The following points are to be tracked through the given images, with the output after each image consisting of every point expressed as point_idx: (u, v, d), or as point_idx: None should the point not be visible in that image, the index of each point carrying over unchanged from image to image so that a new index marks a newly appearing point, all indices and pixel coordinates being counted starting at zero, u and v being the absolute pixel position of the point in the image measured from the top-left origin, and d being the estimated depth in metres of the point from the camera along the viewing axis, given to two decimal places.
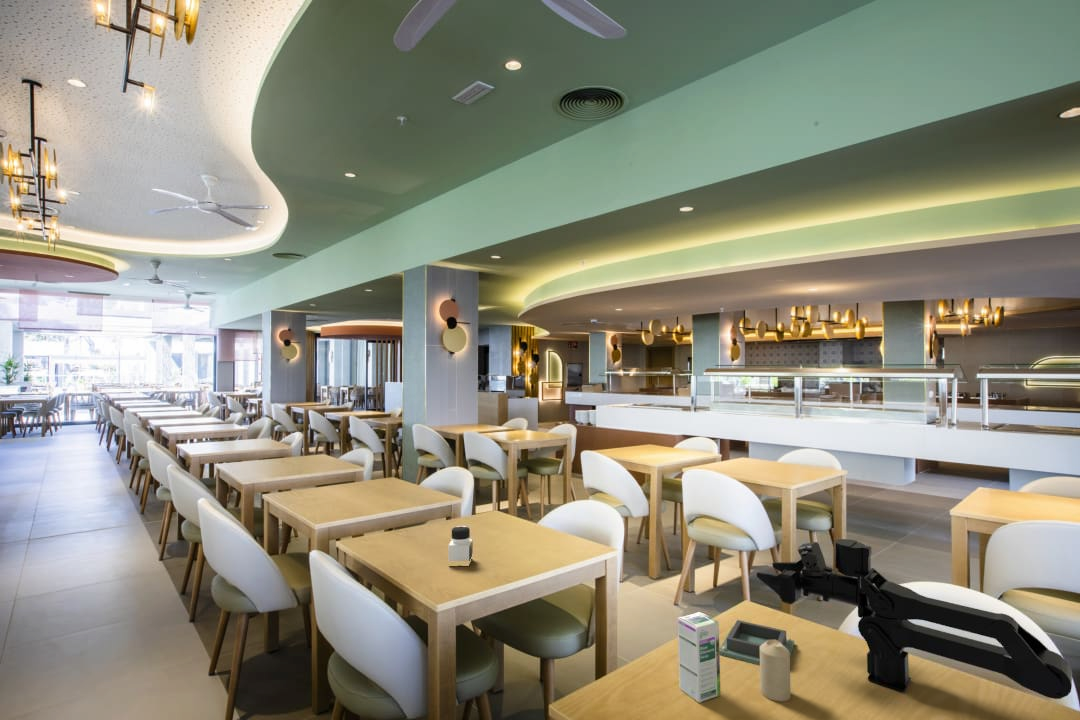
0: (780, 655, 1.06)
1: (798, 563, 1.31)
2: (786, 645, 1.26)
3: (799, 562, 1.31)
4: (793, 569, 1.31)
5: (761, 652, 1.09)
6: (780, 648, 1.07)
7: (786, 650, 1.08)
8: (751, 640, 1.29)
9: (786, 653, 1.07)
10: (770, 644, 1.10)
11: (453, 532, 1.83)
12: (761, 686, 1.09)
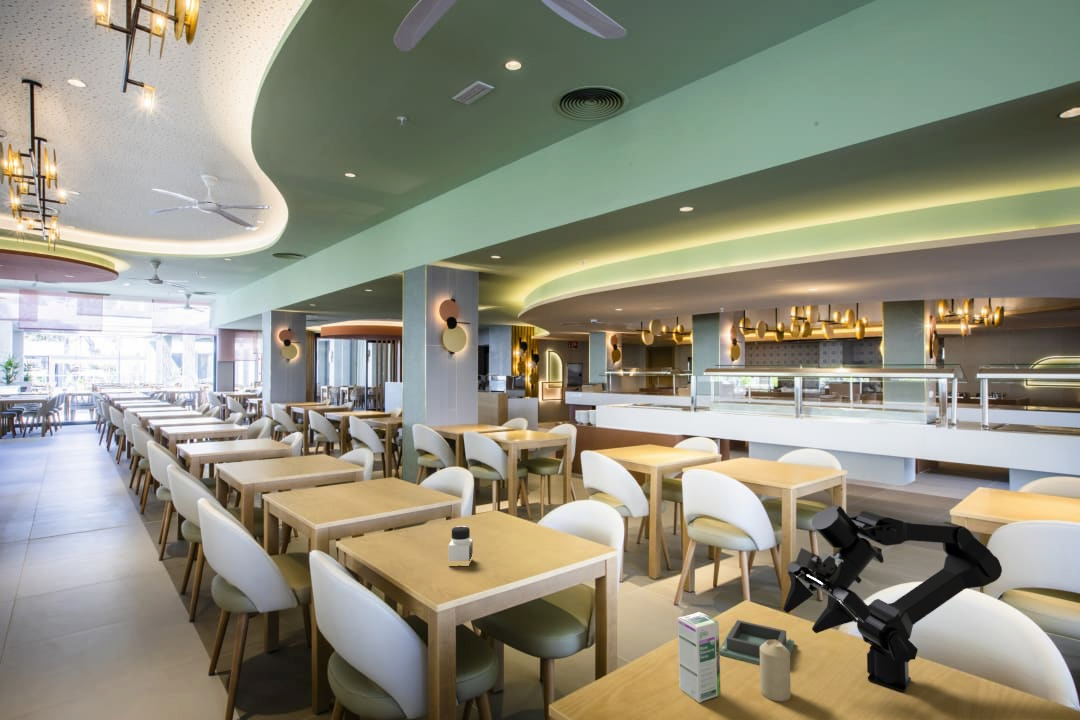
0: (780, 655, 1.06)
1: (797, 583, 1.16)
2: (786, 645, 1.26)
3: (796, 582, 1.16)
4: (799, 593, 1.16)
5: (761, 652, 1.09)
6: (780, 648, 1.07)
7: (786, 650, 1.08)
8: (751, 640, 1.29)
9: (786, 653, 1.07)
10: (770, 644, 1.10)
11: (453, 532, 1.83)
12: (761, 686, 1.09)
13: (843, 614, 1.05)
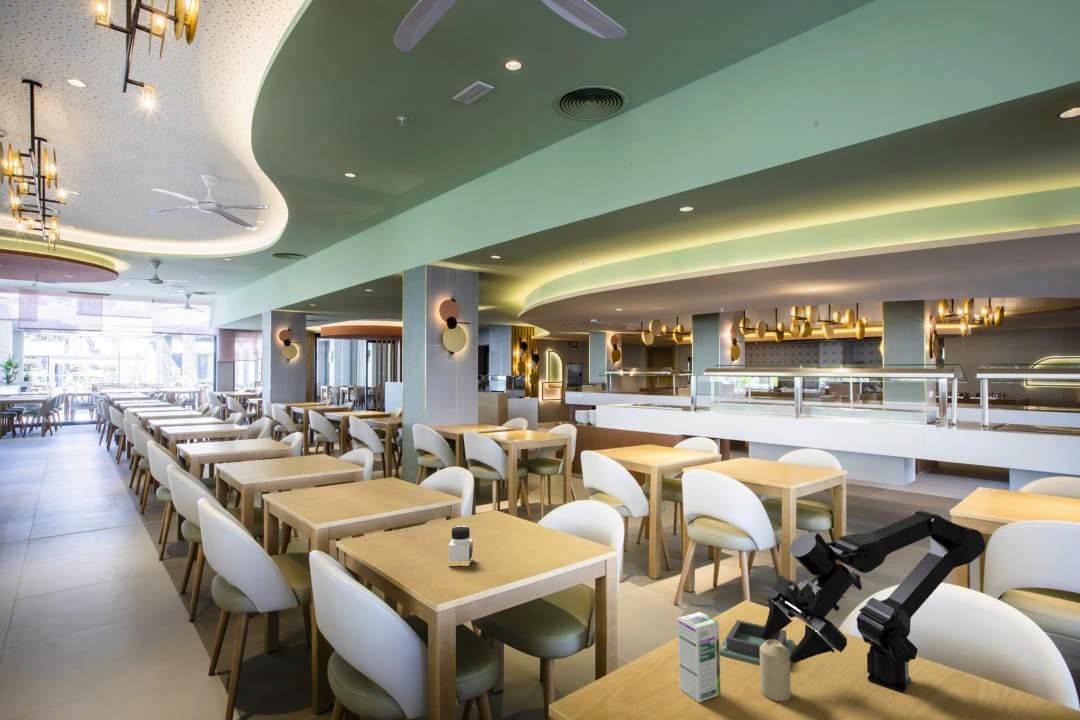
0: (780, 655, 1.06)
1: (775, 610, 1.15)
2: (786, 645, 1.26)
3: (775, 608, 1.15)
4: (777, 620, 1.14)
5: (761, 652, 1.09)
6: (780, 648, 1.07)
7: (786, 650, 1.08)
8: (751, 640, 1.29)
9: (786, 653, 1.07)
10: (770, 644, 1.10)
11: (453, 532, 1.83)
12: (761, 686, 1.09)
13: (820, 644, 1.04)
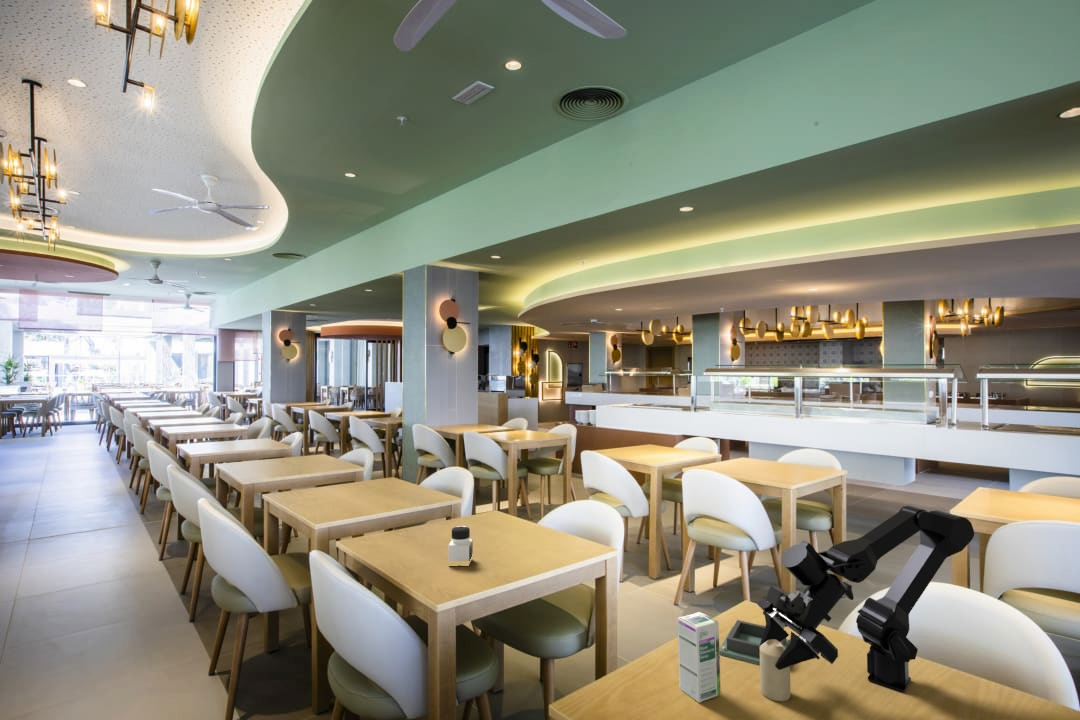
0: (780, 655, 1.06)
1: (772, 624, 1.13)
2: (786, 645, 1.26)
3: (771, 622, 1.13)
4: (774, 634, 1.12)
5: (761, 652, 1.09)
6: (780, 648, 1.07)
7: None
8: (751, 640, 1.29)
9: None
10: (770, 644, 1.10)
11: (453, 532, 1.83)
12: (761, 686, 1.09)
13: (806, 651, 1.05)
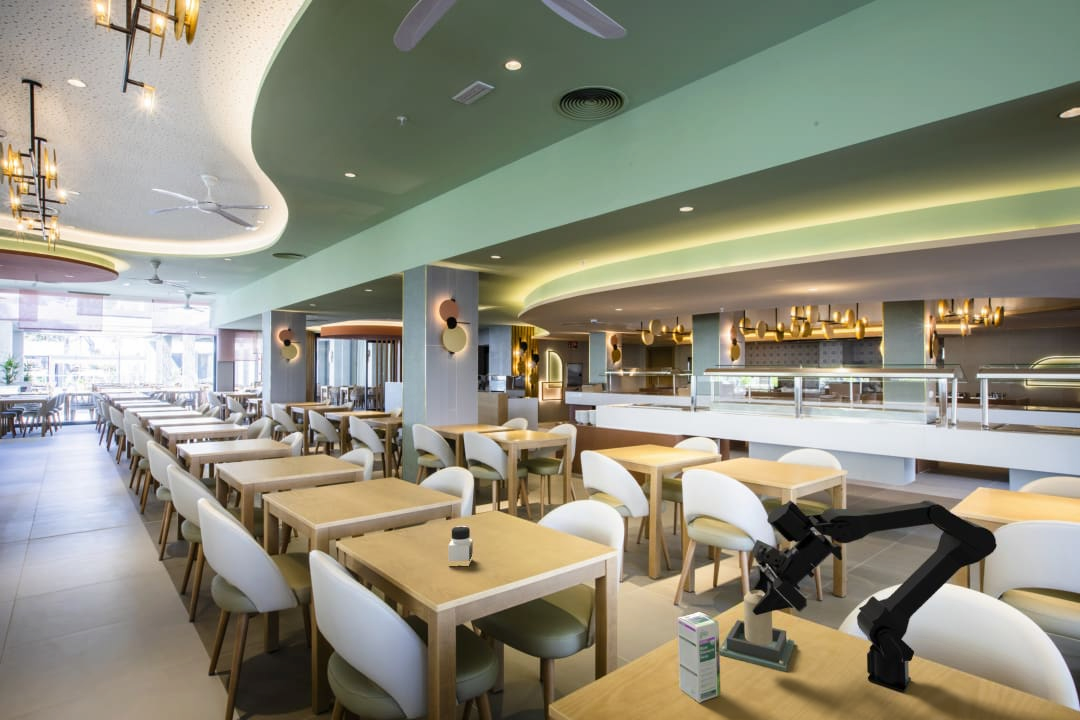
0: None
1: (761, 577, 1.21)
2: (786, 645, 1.26)
3: (761, 575, 1.21)
4: (763, 586, 1.20)
5: (744, 599, 1.18)
6: (760, 596, 1.16)
7: None
8: None
9: None
10: (754, 593, 1.18)
11: (453, 532, 1.83)
12: None
13: (781, 600, 1.13)
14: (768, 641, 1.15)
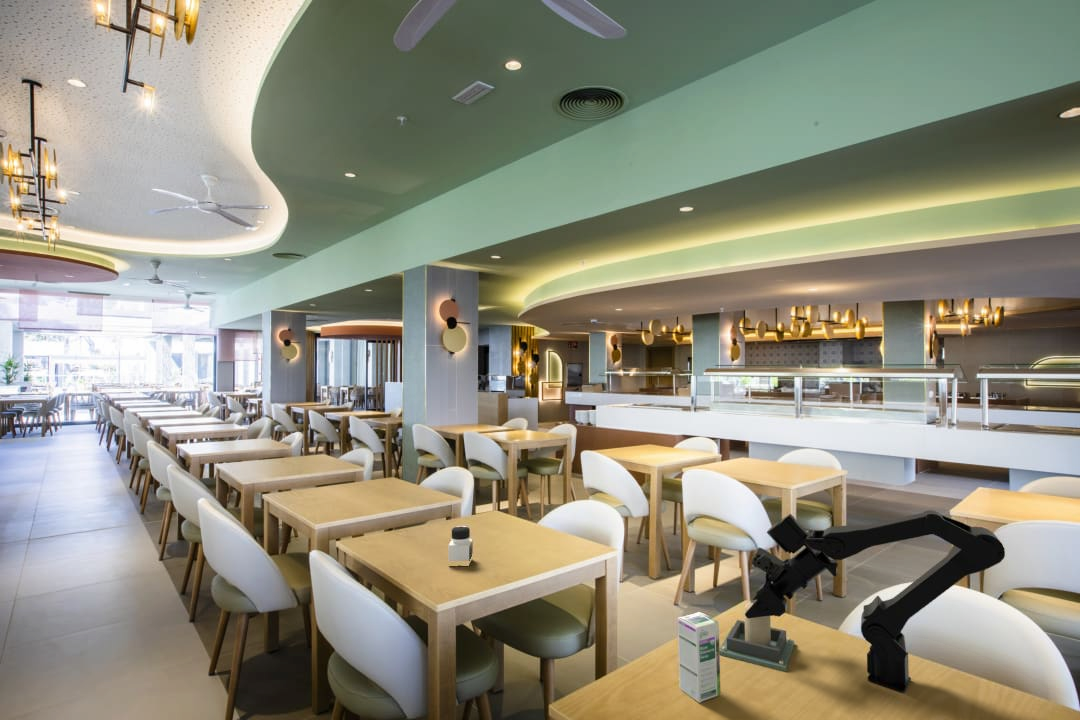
0: None
1: (767, 581, 1.30)
2: (786, 645, 1.26)
3: (767, 579, 1.30)
4: None
5: None
6: None
7: None
8: None
9: None
10: None
11: (453, 532, 1.83)
12: None
13: None
14: None
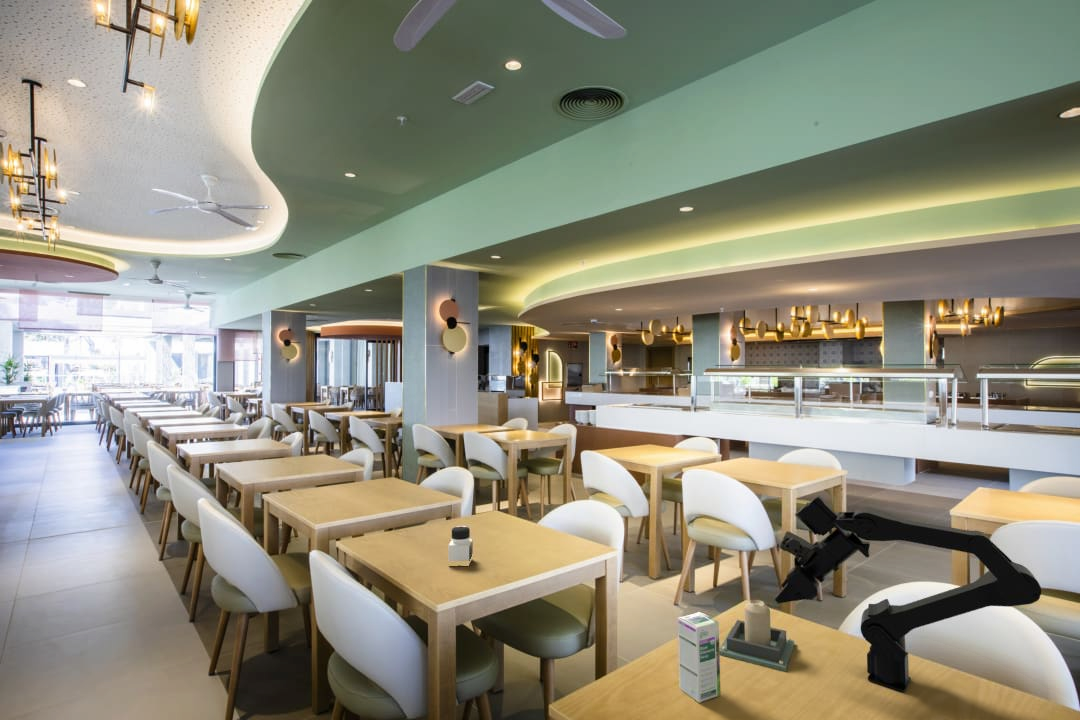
0: (753, 611, 1.24)
1: (796, 565, 1.27)
2: (786, 645, 1.26)
3: (796, 564, 1.27)
4: None
5: None
6: (756, 606, 1.25)
7: (763, 610, 1.24)
8: None
9: (760, 611, 1.24)
10: (756, 603, 1.27)
11: (453, 532, 1.83)
12: None
13: (800, 591, 1.17)
14: None
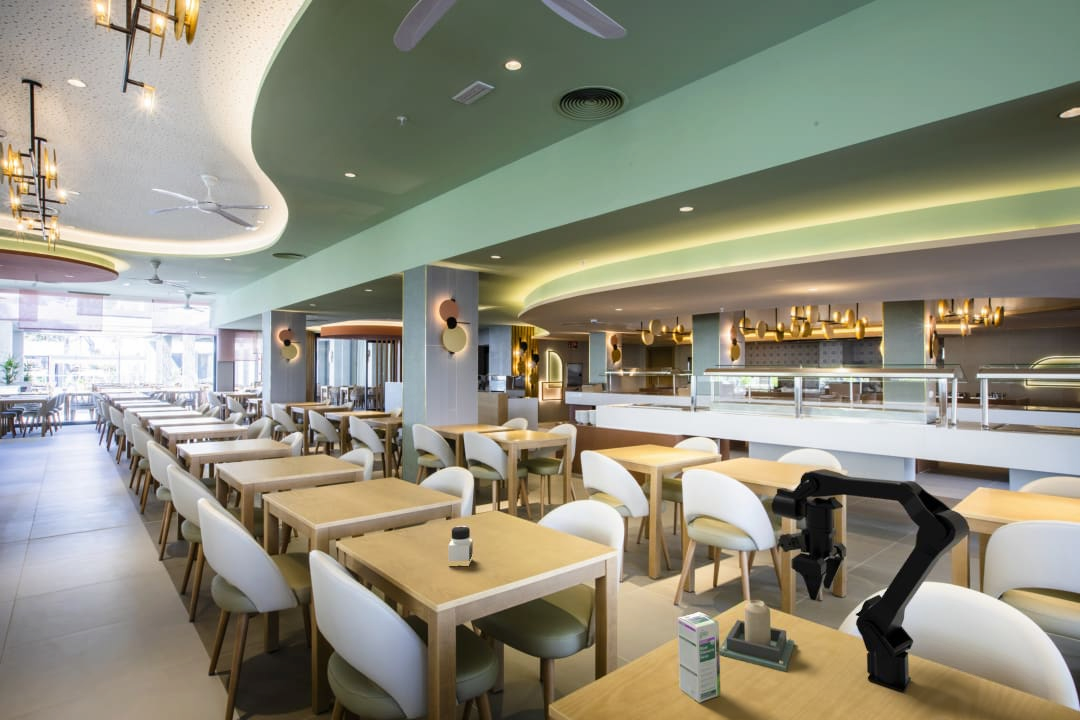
0: (753, 611, 1.24)
1: None
2: (786, 645, 1.26)
3: None
4: (827, 567, 1.29)
5: None
6: (757, 606, 1.25)
7: (763, 610, 1.24)
8: None
9: (760, 611, 1.24)
10: (756, 603, 1.27)
11: (453, 532, 1.83)
12: None
13: (815, 575, 1.20)
14: None
